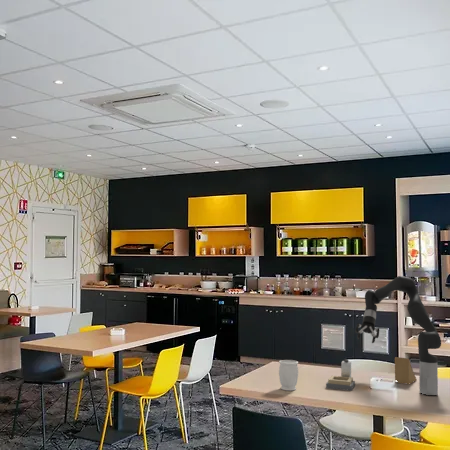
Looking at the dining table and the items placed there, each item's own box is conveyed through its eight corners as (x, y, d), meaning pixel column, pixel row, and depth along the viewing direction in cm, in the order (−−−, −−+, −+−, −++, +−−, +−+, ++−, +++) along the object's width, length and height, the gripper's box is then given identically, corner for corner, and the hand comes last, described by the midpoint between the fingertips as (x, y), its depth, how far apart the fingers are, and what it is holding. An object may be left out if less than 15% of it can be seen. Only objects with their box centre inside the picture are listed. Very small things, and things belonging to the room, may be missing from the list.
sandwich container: (417, 380, 324) (417, 355, 325) (409, 384, 312) (409, 358, 313) (403, 378, 329) (403, 353, 330) (394, 382, 317) (394, 356, 318)
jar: (275, 389, 291) (276, 361, 292) (282, 386, 300) (283, 358, 302) (294, 392, 286) (294, 363, 287) (300, 388, 296) (301, 360, 297)
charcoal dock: (354, 385, 306) (355, 377, 306) (351, 390, 293) (351, 382, 293) (330, 382, 311) (330, 375, 311) (326, 388, 298) (326, 379, 298)
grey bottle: (351, 382, 314) (351, 359, 315) (349, 384, 309) (350, 361, 310) (342, 381, 316) (342, 358, 317) (341, 383, 311) (341, 360, 312)
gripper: (359, 312, 340) (355, 335, 331) (382, 318, 337) (378, 341, 327) (357, 318, 346) (353, 340, 336) (379, 324, 343) (376, 346, 333)
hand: (365, 340), depth 332 cm, fingers open, 8 cm apart
